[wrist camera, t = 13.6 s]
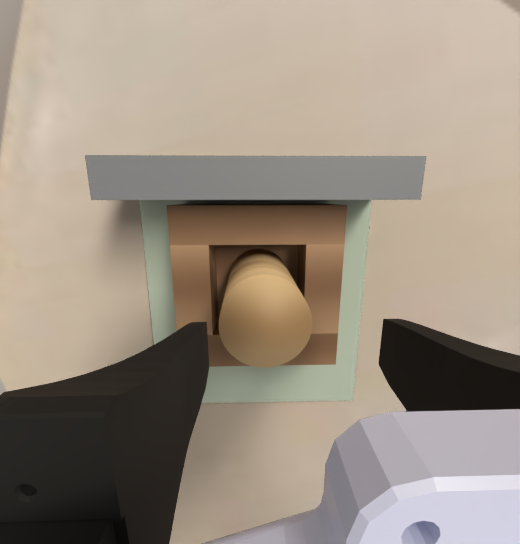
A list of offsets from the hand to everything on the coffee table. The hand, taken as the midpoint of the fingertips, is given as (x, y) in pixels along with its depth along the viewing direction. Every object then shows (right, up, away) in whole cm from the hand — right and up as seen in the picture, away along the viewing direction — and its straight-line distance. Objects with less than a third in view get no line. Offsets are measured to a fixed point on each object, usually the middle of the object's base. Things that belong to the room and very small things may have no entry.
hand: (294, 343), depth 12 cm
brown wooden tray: (-2, +3, +9) cm, 10 cm away
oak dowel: (-2, +3, +8) cm, 9 cm away
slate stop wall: (-2, +9, +8) cm, 12 cm away
